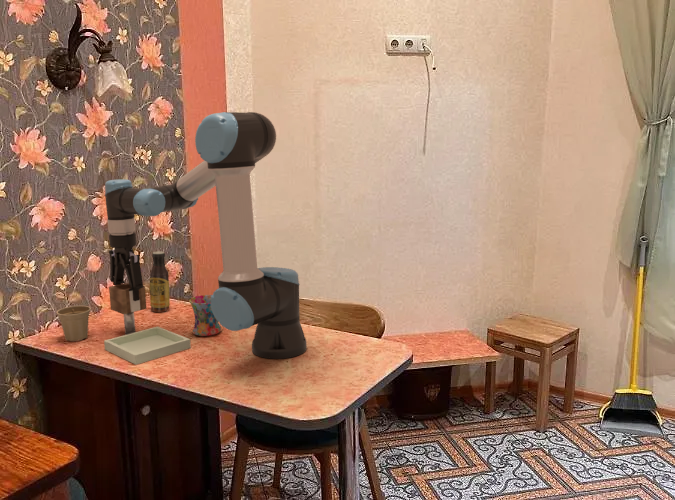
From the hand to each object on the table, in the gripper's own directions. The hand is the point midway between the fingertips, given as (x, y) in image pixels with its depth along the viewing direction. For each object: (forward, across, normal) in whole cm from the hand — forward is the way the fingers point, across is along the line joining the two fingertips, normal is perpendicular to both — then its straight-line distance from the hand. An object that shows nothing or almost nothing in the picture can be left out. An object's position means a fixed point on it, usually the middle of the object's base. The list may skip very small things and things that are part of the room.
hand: (128, 308), depth 198 cm
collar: (0, 0, 0) cm, 0 cm away
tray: (+8, -16, +4) cm, 18 cm away
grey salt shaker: (+8, 0, 0) cm, 8 cm away
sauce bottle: (+8, +14, -19) cm, 25 cm away
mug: (+8, -17, -17) cm, 25 cm away
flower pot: (+8, +8, +13) cm, 17 cm away
